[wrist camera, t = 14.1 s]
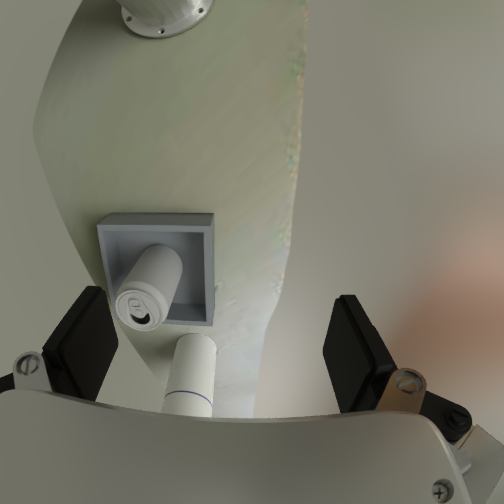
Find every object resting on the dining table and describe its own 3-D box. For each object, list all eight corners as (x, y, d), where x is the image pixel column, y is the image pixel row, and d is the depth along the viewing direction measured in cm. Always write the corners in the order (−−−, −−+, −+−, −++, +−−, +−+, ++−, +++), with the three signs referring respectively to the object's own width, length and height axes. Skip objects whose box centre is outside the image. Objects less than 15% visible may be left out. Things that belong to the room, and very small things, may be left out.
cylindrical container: (223, 343, 48) (217, 478, 25) (206, 366, 51) (195, 489, 28) (184, 327, 46) (157, 463, 24) (171, 352, 49) (144, 476, 26)
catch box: (111, 212, 38) (96, 224, 33) (214, 213, 38) (210, 226, 34) (125, 300, 44) (115, 319, 39) (214, 306, 45) (212, 326, 40)
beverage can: (147, 283, 42) (122, 334, 31) (137, 244, 39) (104, 289, 28) (187, 280, 42) (171, 334, 31) (179, 240, 39) (157, 286, 28)
